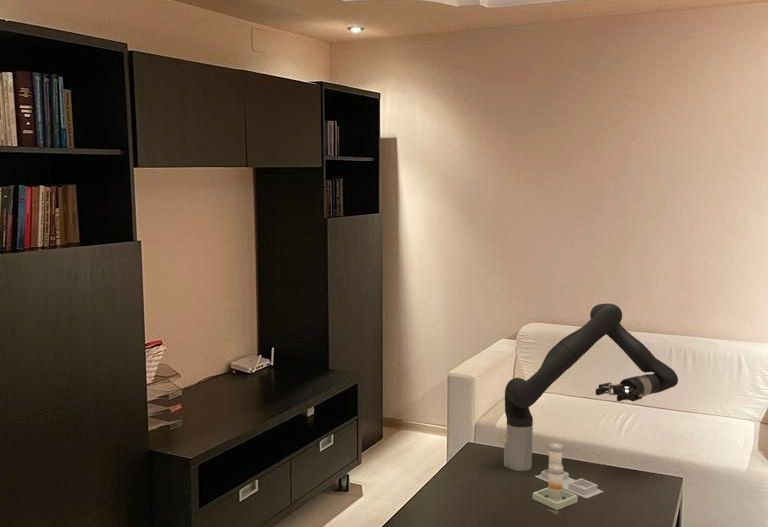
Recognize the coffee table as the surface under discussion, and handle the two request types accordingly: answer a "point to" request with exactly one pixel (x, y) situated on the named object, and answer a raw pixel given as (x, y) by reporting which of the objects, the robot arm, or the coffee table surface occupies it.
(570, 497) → the tray
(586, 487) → the fuse board
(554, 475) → the cylinder
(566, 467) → the coffee table surface
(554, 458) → the cylinder
